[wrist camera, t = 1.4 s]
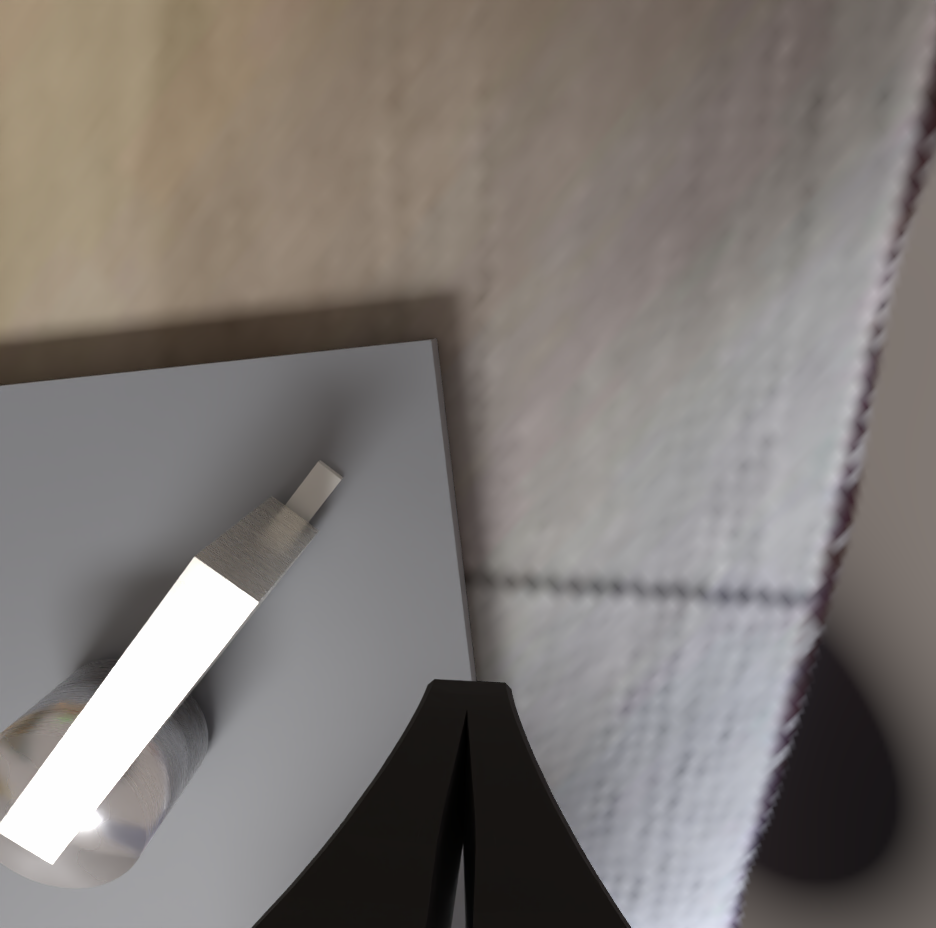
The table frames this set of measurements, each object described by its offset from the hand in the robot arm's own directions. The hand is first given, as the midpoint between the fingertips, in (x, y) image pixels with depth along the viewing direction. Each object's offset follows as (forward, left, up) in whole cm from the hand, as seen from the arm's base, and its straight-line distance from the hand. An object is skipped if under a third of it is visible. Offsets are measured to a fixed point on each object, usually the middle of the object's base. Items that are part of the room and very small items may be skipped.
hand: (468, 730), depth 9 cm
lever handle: (-2, +9, -6) cm, 11 cm away
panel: (-5, +12, -8) cm, 15 cm away
